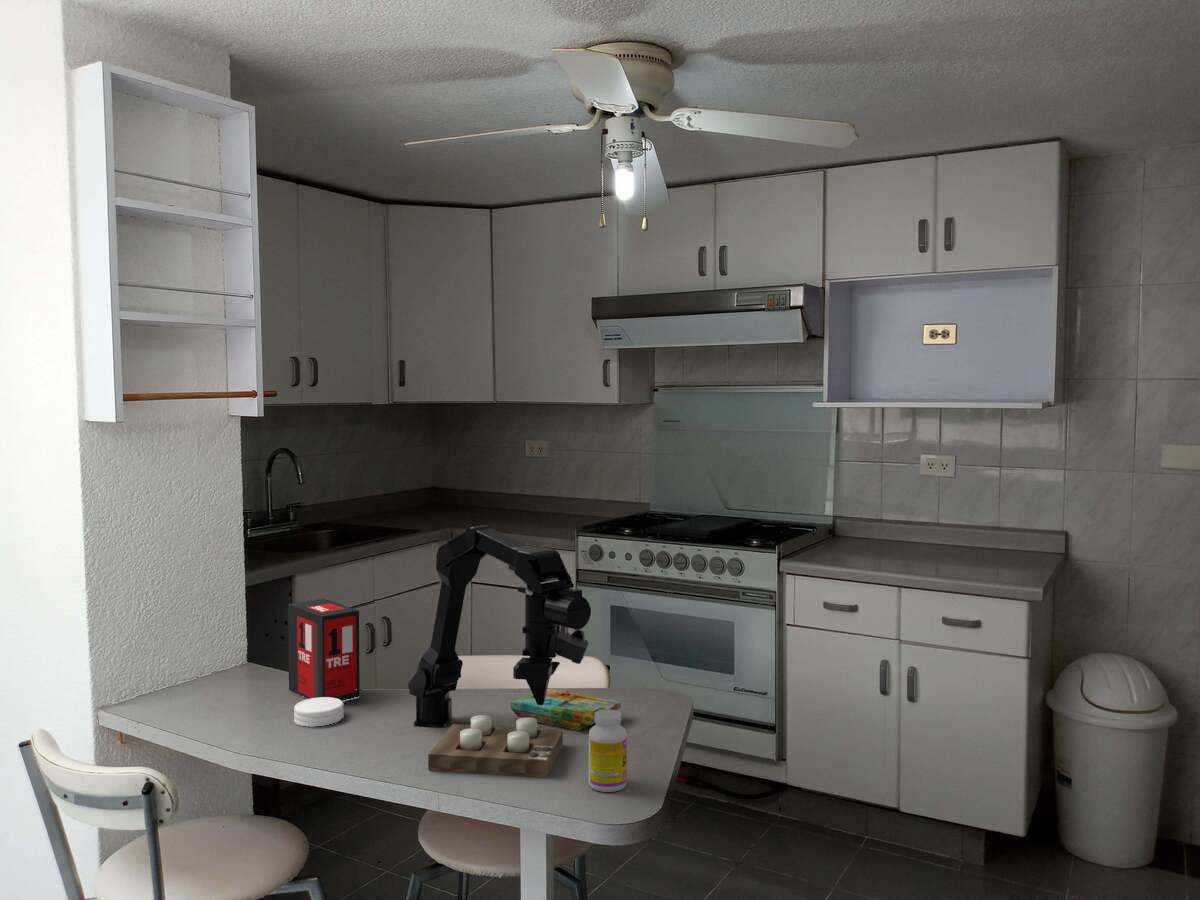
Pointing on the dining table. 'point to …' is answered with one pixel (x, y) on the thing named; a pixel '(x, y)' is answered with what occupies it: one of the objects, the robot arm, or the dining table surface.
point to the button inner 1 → (482, 724)
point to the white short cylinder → (318, 711)
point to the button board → (497, 753)
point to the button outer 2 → (518, 742)
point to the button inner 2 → (527, 726)
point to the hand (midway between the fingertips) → (540, 704)
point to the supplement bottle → (607, 752)
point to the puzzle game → (563, 708)
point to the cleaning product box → (323, 649)
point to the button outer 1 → (470, 739)
